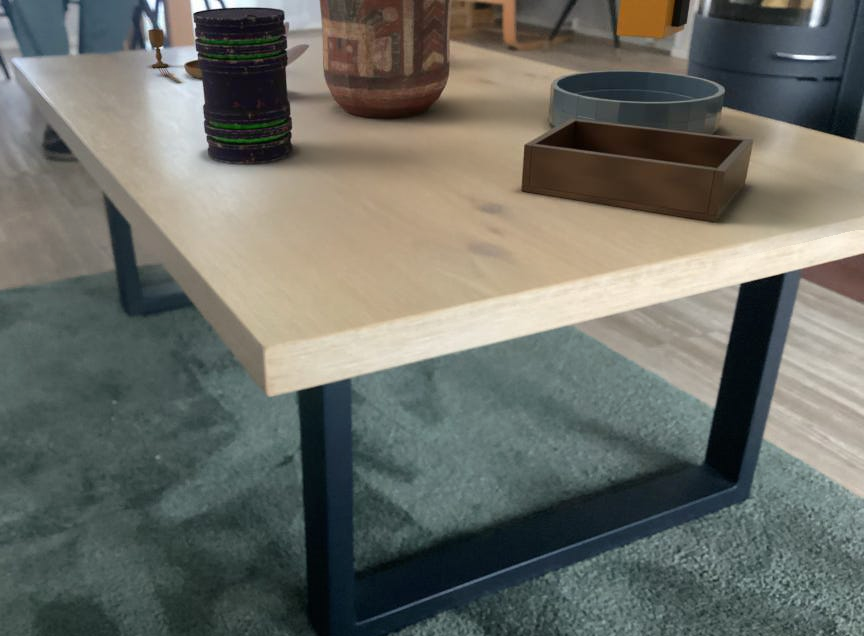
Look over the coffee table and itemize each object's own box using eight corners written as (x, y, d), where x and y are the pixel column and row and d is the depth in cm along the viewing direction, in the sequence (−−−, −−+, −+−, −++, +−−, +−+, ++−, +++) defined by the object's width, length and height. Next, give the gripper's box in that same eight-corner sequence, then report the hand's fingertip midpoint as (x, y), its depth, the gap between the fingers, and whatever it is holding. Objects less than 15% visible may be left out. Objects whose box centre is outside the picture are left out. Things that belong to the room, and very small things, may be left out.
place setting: (178, 85, 134) (173, 45, 131) (146, 66, 150) (141, 30, 147) (283, 75, 141) (281, 36, 138) (242, 57, 157) (240, 22, 154)
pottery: (433, 127, 108) (435, -30, 100) (303, 119, 113) (295, -32, 105) (464, 99, 123) (469, -40, 115) (348, 92, 128) (345, -41, 119)
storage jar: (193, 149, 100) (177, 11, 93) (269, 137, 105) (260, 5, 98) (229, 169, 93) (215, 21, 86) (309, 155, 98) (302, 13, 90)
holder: (744, 185, 86) (753, 139, 84) (715, 222, 76) (724, 171, 74) (567, 160, 94) (571, 118, 92) (520, 191, 85) (524, 144, 83)
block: (684, 29, 85) (690, -15, 84) (663, 38, 80) (669, -8, 78) (639, 26, 88) (644, -17, 86) (616, 35, 82) (621, -10, 81)
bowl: (733, 119, 111) (741, 78, 108) (693, 156, 96) (701, 110, 93) (581, 102, 120) (585, 65, 118) (522, 134, 105) (525, 92, 103)
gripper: (574, -269, 74) (552, 22, 85) (793, -292, 65) (736, 34, 77) (604, -258, 79) (579, 14, 90) (810, -278, 71) (755, 24, 82)
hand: (652, 22), depth 84 cm, fingers closed on block, 4 cm apart
